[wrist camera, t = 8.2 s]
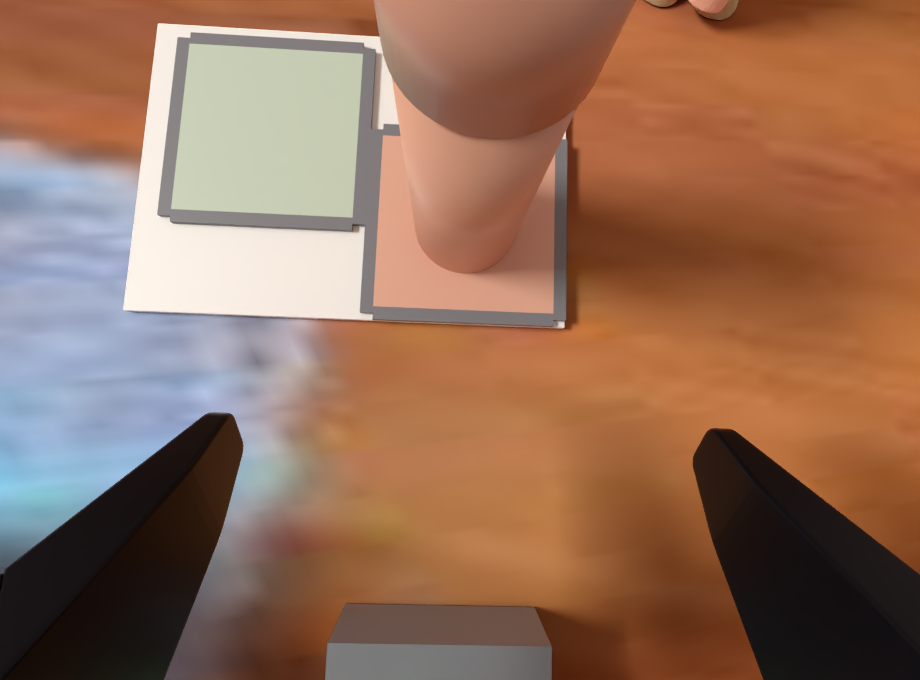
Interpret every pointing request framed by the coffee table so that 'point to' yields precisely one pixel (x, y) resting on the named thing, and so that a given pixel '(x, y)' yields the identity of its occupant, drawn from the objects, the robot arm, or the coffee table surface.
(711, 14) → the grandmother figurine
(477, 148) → the peach round-top post
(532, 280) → the sheet
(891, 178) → the coffee table surface
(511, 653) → the button housing
